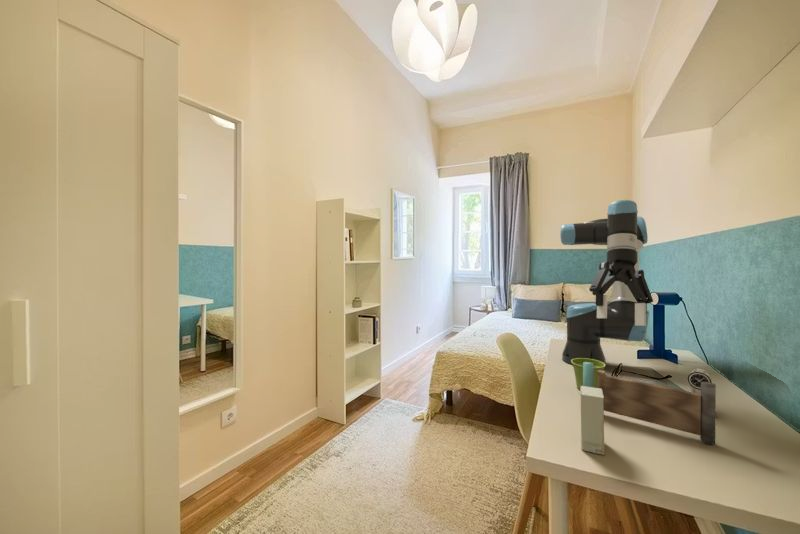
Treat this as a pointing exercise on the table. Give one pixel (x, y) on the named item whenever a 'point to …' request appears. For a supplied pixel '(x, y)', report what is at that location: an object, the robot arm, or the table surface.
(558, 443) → the table surface
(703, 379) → the watch
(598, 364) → the plant pot
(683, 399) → the gate
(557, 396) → the table surface
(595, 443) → the skincare box
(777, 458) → the table surface
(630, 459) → the table surface
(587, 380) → the post
